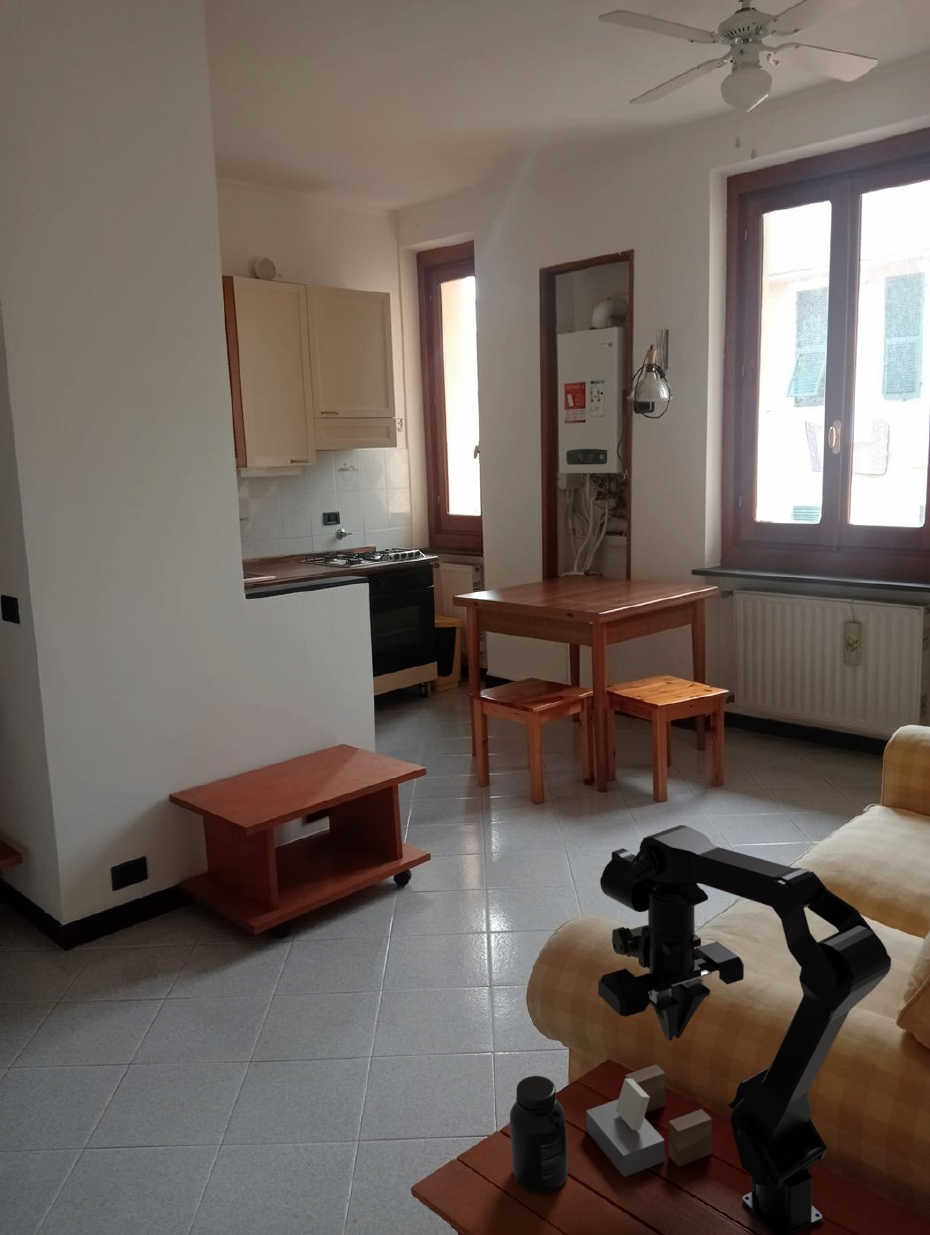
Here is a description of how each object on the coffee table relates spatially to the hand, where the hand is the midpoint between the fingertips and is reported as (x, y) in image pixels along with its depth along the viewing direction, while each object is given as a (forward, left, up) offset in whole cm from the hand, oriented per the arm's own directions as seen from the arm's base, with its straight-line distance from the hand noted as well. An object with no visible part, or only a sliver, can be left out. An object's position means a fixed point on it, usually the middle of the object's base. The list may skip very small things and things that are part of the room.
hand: (672, 1037), depth 123 cm
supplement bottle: (0, +19, -13) cm, 24 cm away
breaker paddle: (0, +7, -10) cm, 12 cm away
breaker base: (0, +7, -13) cm, 15 cm away
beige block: (-5, +1, -13) cm, 14 cm away
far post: (+5, +1, -13) cm, 14 cm away
